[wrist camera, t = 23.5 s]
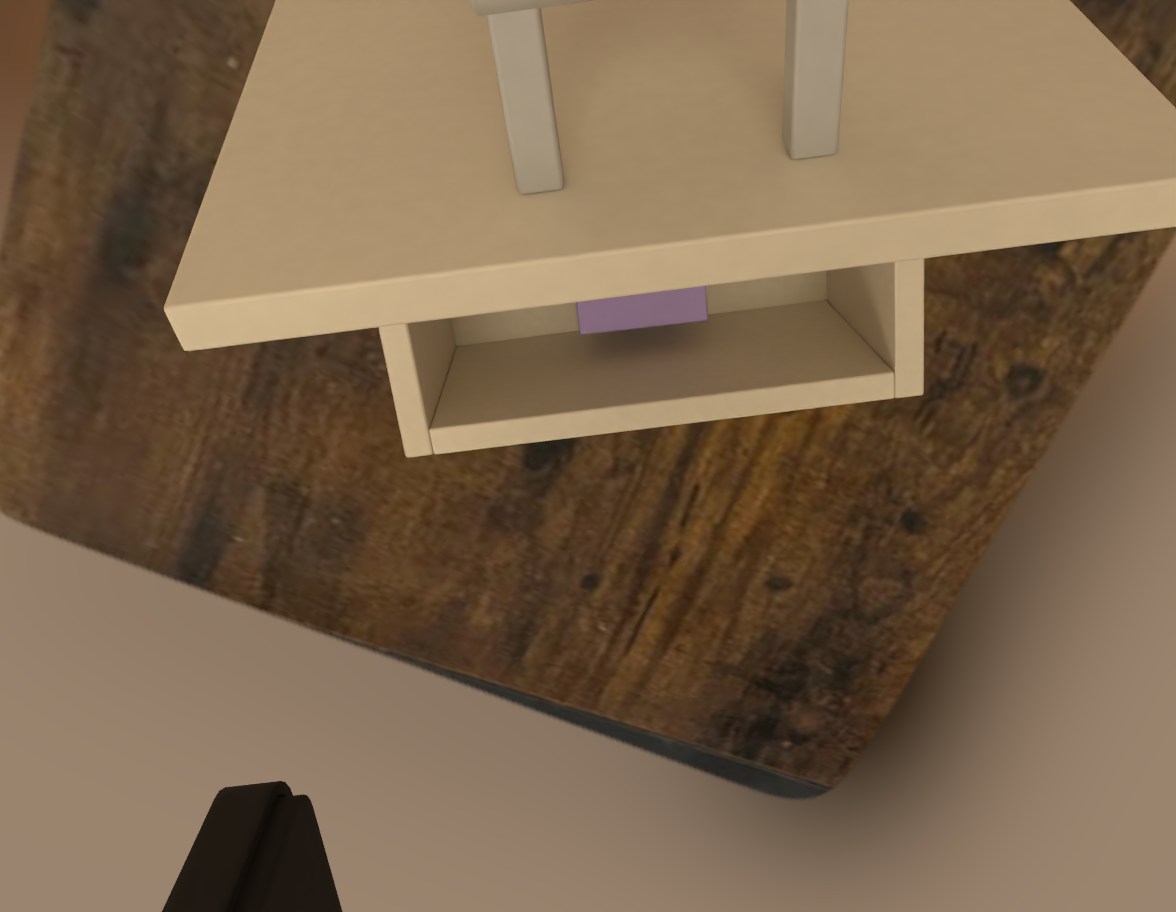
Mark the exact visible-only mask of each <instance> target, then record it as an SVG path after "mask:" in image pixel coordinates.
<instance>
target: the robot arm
mask: <svg viewBox="0 0 1176 912" xmlns="http://www.w3.org/2000/svg"><path fill="white" fill-rule="evenodd" d="M162 912H342V909H341V906H340V902H339V898H338V895H337V891H336V888H335V884H334V880H333V877H332V873H331V870H330V866H329V863H328V859H327V855H326V852H325V848H324V845H323V841H322V837H321V834H320V830H319V827H318V823H317V820H316V817H315V813H314V809H313V806H312V803H311V801H310V799H309V798H308V796H307V795H297V796H293V795H292V792H291V789H290V787H289V786H288V785H287V784H286V782H282V781H278V782H269V783H260V784H251V785H243V786H234V787H225V788H223V789H222V790H220V791H219V793H218V794H217V796H216V797H215V799H214V801H213V803H212V805H211V807H210V810H209V812H208V814H207V816H206V818H205V820H204V823H203V825H202V827H201V829H200V831H199V834H198V835H197V838H196V840H195V842H194V844H193V846H192V848H191V850H190V853H189V855H188V857H187V859H186V861H185V863H184V866H183V868H182V870H181V872H180V874H179V876H178V878H177V881H176V883H175V885H174V887H173V889H172V891H171V894H170V896H169V898H168V900H167V902H166V904H165V906H164V909H163V911H162Z"/></svg>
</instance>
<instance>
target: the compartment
mask: <svg viewBox="0 0 1176 912" xmlns="http://www.w3.org/2000/svg"><path fill="white" fill-rule="evenodd" d="M706 295H707V310H708V320H707V321H701V322H692V323H683V324H674V325H665V326H656V327H647V328H638V329H629V330H620V331H611V332H602V333H593V334H584V335H581V334H580V333H579V325H578V317H577V308H576V302H574V303H566V304H558V305H550V306H542V307H534V308H526V309H518V310H510V311H502V312H494V313H486V314H478V315H470V316H463V317H455V318H447V319H439V320H431V321H423V322H415V323H407V324H399V325H391V326H383V327H379V332H380V336H381V341H382V346H383V351H384V355H385V360H386V365H387V370H388V375H389V379H390V384H391V389H392V394H393V398H394V403H395V408H396V413H397V418H398V422H399V427H400V432H401V437H402V441H403V446H404V451H405V455H406V457H416V456H424V455H431V454H433V452H434V454H443V453H451V452H459V451H467V450H475V449H483V448H492V447H500V446H508V445H516V444H524V443H532V442H541V441H549V440H557V439H565V438H573V437H581V436H590V435H598V434H606V433H614V432H622V431H631V430H639V429H647V428H655V427H663V426H671V425H680V424H688V423H696V422H704V421H712V420H720V419H729V418H737V417H745V416H753V415H761V414H769V413H778V412H786V411H794V410H802V409H810V408H819V407H827V406H835V405H843V404H851V403H859V402H868V401H876V400H884V399H892V398H894V396H895V398H902V397H910V396H918V395H923V393H924V258H923V259H915V260H907V261H899V262H891V263H883V264H875V265H867V266H859V267H851V268H843V269H835V270H827V271H819V272H812V273H804V274H796V275H788V276H780V277H772V278H764V279H756V280H748V281H740V282H732V283H724V284H716V285H708V286H706Z"/></svg>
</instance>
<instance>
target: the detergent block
mask: <svg viewBox="0 0 1176 912" xmlns="http://www.w3.org/2000/svg"><path fill="white" fill-rule="evenodd" d="M576 308H577V317H578V325H579V333H580V334H581V335H584V334H593V333H602V332H611V331H620V330H629V329H638V328H647V327H656V326H665V325H674V324H683V323H692V322H701V321H707V320H708V310H707V295H706V286H700V287H693V288H685V289H677V290H669V291H661V292H653V293H645V294H637V295H629V296H621V297H613V298H605V299H597V300H589V301H582V302H576Z"/></svg>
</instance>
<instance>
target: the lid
mask: <svg viewBox="0 0 1176 912" xmlns="http://www.w3.org/2000/svg"><path fill="white" fill-rule="evenodd" d="M1168 227H1176V108H1175V107H1174V106H1173V105H1172V104H1171V103H1170V102H1169V101H1168V100H1167V99H1166V98H1165V97H1164V96H1163V95H1162V94H1161V93H1160V92H1159V91H1158V90H1157V89H1156V88H1155V87H1154V86H1153V85H1152V84H1151V82H1150V81H1149V80H1148V79H1147V78H1146V77H1145V76H1144V75H1143V74H1142V73H1141V72H1140V71H1139V70H1138V69H1137V68H1136V67H1135V66H1134V65H1133V64H1132V63H1131V62H1130V61H1129V60H1128V59H1127V58H1126V57H1125V56H1124V55H1123V54H1122V53H1121V52H1120V51H1119V50H1118V49H1117V48H1116V47H1115V46H1114V45H1113V44H1112V43H1111V42H1110V41H1109V40H1108V39H1107V38H1106V37H1105V36H1104V35H1103V34H1102V33H1101V32H1100V31H1099V30H1098V29H1097V28H1096V27H1095V26H1094V24H1093V23H1092V22H1091V21H1090V20H1089V19H1088V18H1087V17H1086V16H1085V15H1084V14H1083V13H1082V12H1081V11H1080V10H1079V9H1078V8H1077V7H1076V6H1075V5H1074V4H1073V3H1072V2H1071V1H1070V0H276V1H275V4H274V6H273V9H272V12H271V15H270V17H269V20H268V23H267V26H266V28H265V31H264V34H263V37H262V39H261V42H260V45H259V48H258V50H257V53H256V56H255V59H254V61H253V64H252V67H251V70H250V72H249V75H248V78H247V81H246V83H245V86H244V89H243V92H242V94H241V97H240V100H239V103H238V105H237V108H236V111H235V114H234V116H233V119H232V122H231V125H230V127H229V130H228V133H227V136H226V138H225V141H224V144H223V146H222V149H221V152H220V155H219V157H218V160H217V163H216V166H215V168H214V171H213V174H212V177H211V179H210V182H209V185H208V188H207V190H206V193H205V196H204V199H203V201H202V204H201V207H200V210H199V212H198V215H197V218H196V221H195V223H194V226H193V229H192V232H191V234H190V237H189V240H188V243H187V245H186V248H185V251H184V254H183V256H182V259H181V262H180V265H179V267H178V270H177V273H176V276H175V278H174V281H173V284H172V287H171V289H170V292H169V295H168V298H167V300H166V303H165V306H164V311H165V313H166V315H167V317H168V319H169V321H170V323H171V325H172V327H173V329H174V331H175V333H176V335H177V337H178V339H179V341H180V343H181V345H182V347H183V349H184V350H185V351H193V350H201V349H209V348H217V347H225V346H233V345H241V344H248V343H256V342H264V341H272V340H280V339H288V338H296V337H304V336H312V335H320V334H328V333H336V332H344V331H352V330H359V329H367V328H375V327H383V326H391V325H399V324H407V323H415V322H423V321H431V320H439V319H447V318H455V317H463V316H470V315H478V314H486V313H494V312H502V311H510V310H518V309H526V308H534V307H542V306H550V305H558V304H566V303H574V302H582V301H589V300H597V299H605V298H613V297H621V296H629V295H637V294H645V293H653V292H661V291H669V290H677V289H685V288H693V287H700V286H708V285H716V284H724V283H732V282H740V281H748V280H756V279H764V278H772V277H780V276H788V275H796V274H804V273H812V272H819V271H827V270H835V269H843V268H851V267H859V266H867V265H875V264H883V263H891V262H899V261H907V260H915V259H923V258H930V257H938V256H946V255H954V254H962V253H970V252H978V251H986V250H994V249H1002V248H1010V247H1018V246H1026V245H1034V244H1041V243H1049V242H1057V241H1065V240H1073V239H1081V238H1089V237H1097V236H1105V235H1113V234H1121V233H1129V232H1137V231H1145V230H1153V229H1160V228H1168Z"/></svg>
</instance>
